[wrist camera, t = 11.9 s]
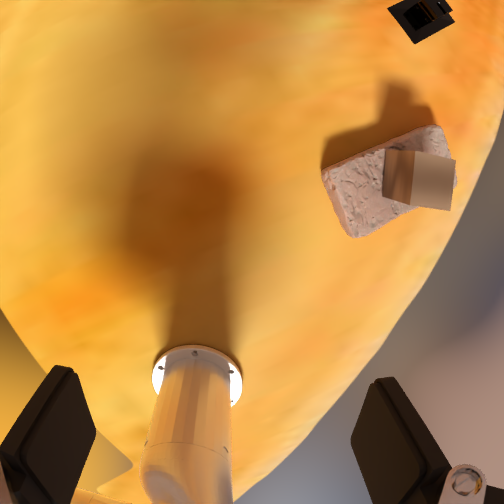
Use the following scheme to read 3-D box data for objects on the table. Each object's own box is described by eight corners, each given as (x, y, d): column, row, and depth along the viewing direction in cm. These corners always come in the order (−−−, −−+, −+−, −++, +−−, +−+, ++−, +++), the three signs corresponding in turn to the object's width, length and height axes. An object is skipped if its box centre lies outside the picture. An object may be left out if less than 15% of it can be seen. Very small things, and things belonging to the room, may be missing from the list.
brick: (424, 123, 34) (444, 120, 29) (443, 182, 36) (464, 186, 32) (314, 169, 35) (325, 171, 31) (341, 233, 38) (354, 243, 33)
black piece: (409, 53, 31) (428, 44, 26) (372, 7, 29) (387, -8, 25) (459, 24, 29) (478, 16, 25) (428, -17, 27) (444, -29, 23)
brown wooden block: (419, 201, 32) (450, 210, 26) (381, 196, 32) (409, 205, 26) (423, 157, 31) (455, 160, 25) (386, 150, 30) (415, 150, 25)
